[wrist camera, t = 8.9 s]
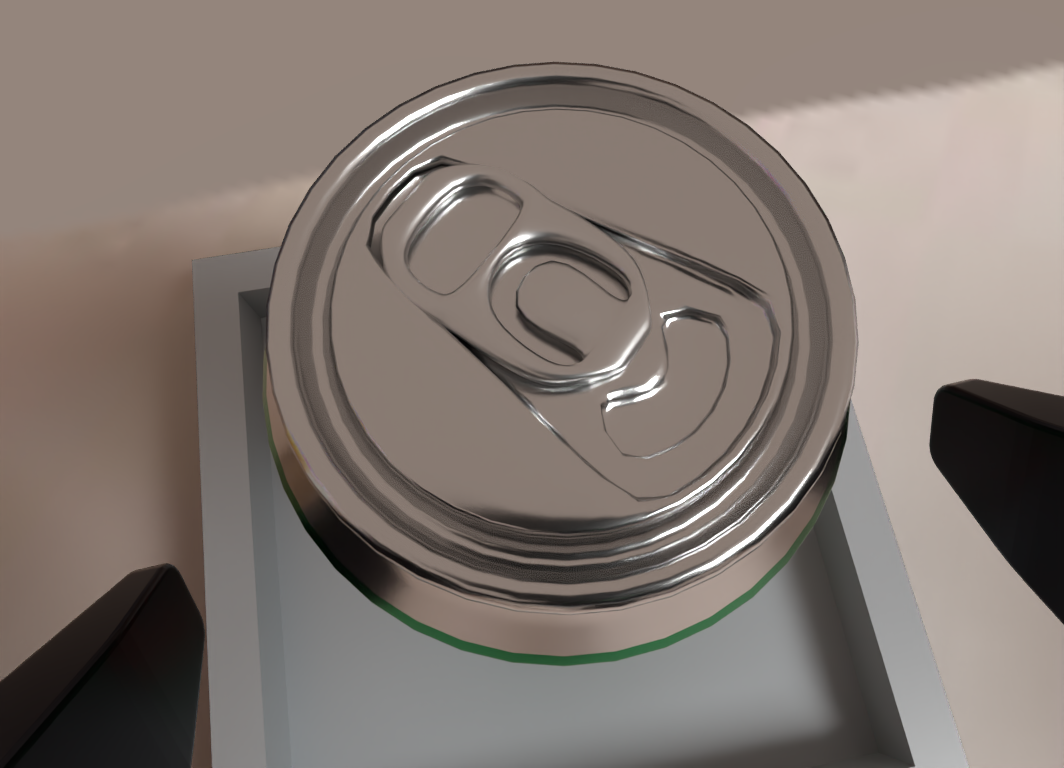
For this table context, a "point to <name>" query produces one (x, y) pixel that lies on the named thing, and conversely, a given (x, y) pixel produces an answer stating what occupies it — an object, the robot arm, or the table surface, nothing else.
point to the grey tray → (528, 689)
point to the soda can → (559, 363)
